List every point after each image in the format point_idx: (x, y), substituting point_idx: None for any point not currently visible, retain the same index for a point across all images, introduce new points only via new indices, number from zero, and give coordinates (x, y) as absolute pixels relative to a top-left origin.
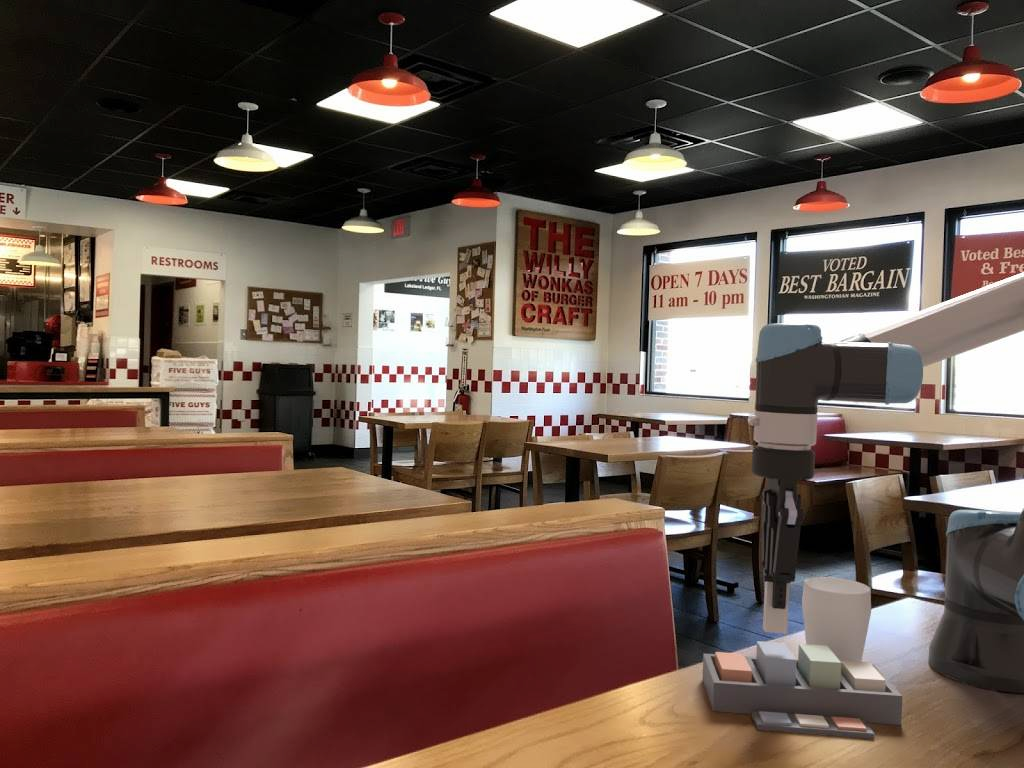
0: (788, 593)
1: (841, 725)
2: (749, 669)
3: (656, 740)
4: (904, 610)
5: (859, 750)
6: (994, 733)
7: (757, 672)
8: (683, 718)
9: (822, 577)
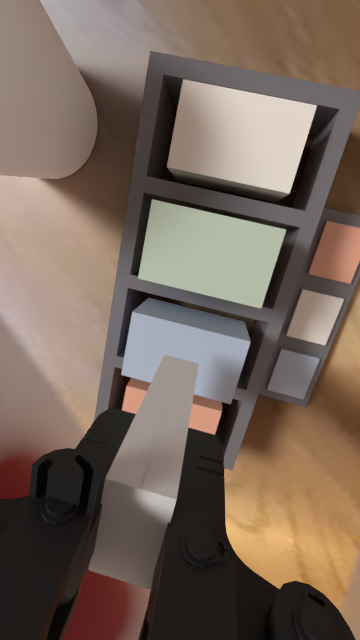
0: (183, 452)
1: (348, 274)
2: (212, 411)
3: (309, 534)
4: None
5: None
6: None
7: None
8: (249, 481)
9: None
